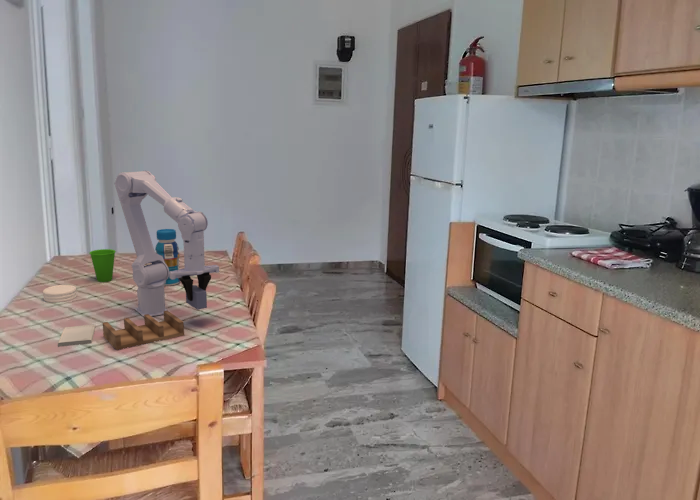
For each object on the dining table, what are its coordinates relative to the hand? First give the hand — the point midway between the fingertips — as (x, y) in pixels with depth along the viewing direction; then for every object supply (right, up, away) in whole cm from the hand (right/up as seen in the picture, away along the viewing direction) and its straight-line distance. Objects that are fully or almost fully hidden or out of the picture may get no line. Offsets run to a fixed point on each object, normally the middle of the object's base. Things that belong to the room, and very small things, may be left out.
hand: (195, 298), depth 165 cm
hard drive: (-30, -10, -10) cm, 33 cm away
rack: (-12, -10, -9) cm, 18 cm away
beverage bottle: (-22, +2, +42) cm, 47 cm away
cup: (-46, +3, +44) cm, 64 cm away
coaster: (-52, -2, +23) cm, 56 cm away
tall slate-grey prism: (0, -2, 0) cm, 2 cm away
